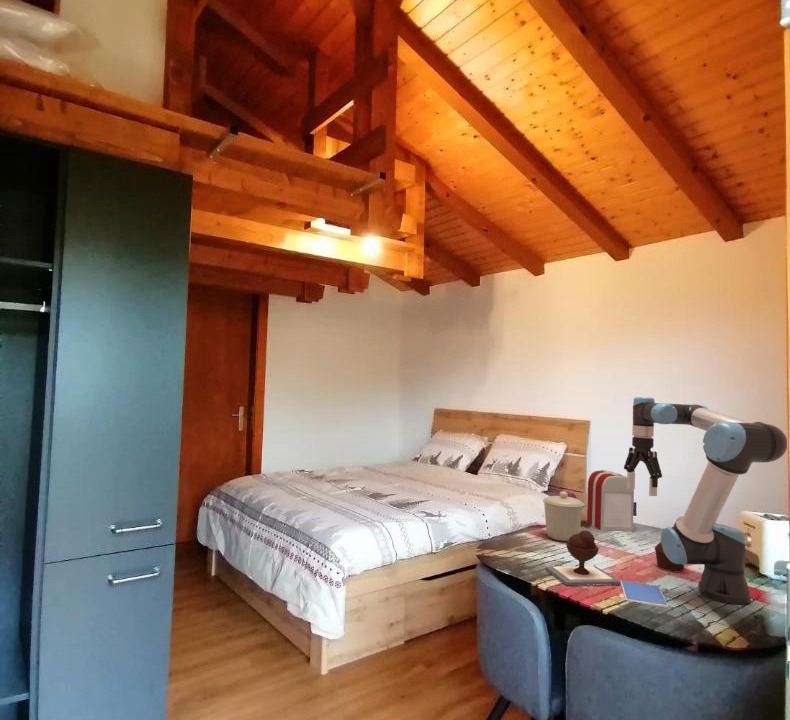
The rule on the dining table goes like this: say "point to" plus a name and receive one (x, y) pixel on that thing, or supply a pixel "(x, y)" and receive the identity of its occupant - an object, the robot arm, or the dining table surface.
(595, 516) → the striped arched panel rack
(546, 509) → the canister
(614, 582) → the mat
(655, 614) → the dining table surface
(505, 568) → the dining table surface
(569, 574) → the sheet
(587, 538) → the ice cream bowl
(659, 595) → the tablet computer
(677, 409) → the robot arm
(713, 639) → the dining table surface
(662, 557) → the muffin
